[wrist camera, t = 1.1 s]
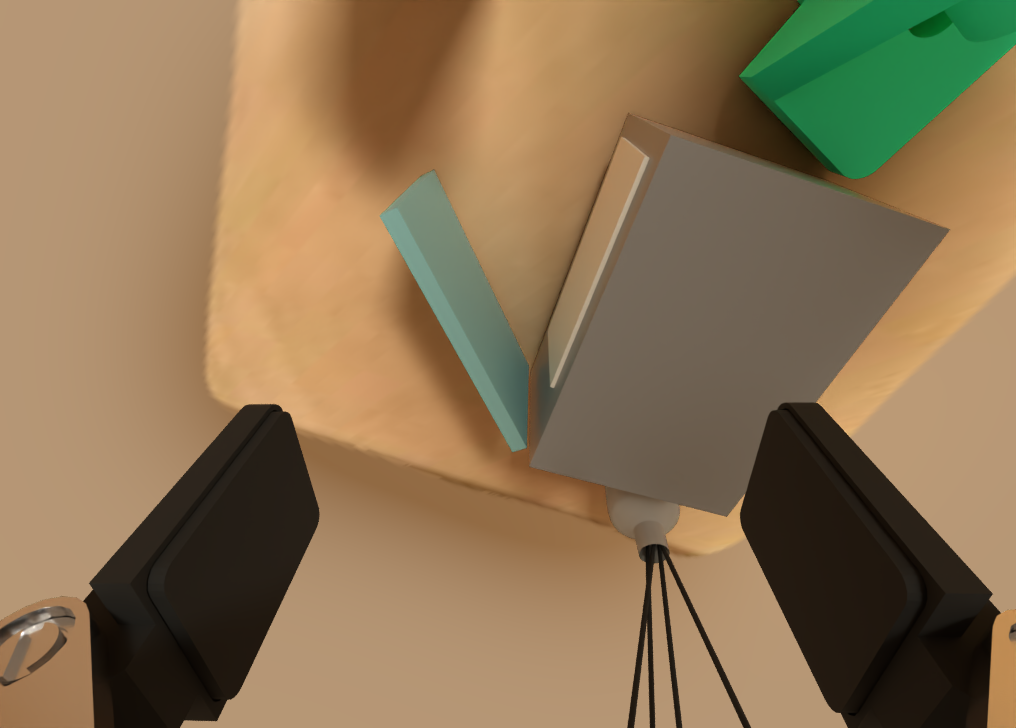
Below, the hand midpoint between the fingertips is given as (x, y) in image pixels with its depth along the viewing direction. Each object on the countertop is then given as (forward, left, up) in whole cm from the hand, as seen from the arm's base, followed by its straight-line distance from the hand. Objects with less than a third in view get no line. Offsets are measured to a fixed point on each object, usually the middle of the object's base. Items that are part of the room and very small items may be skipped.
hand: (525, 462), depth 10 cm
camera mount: (-13, +13, -21) cm, 28 cm away
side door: (+5, -2, -20) cm, 20 cm away
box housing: (+2, +9, -20) cm, 22 cm away
